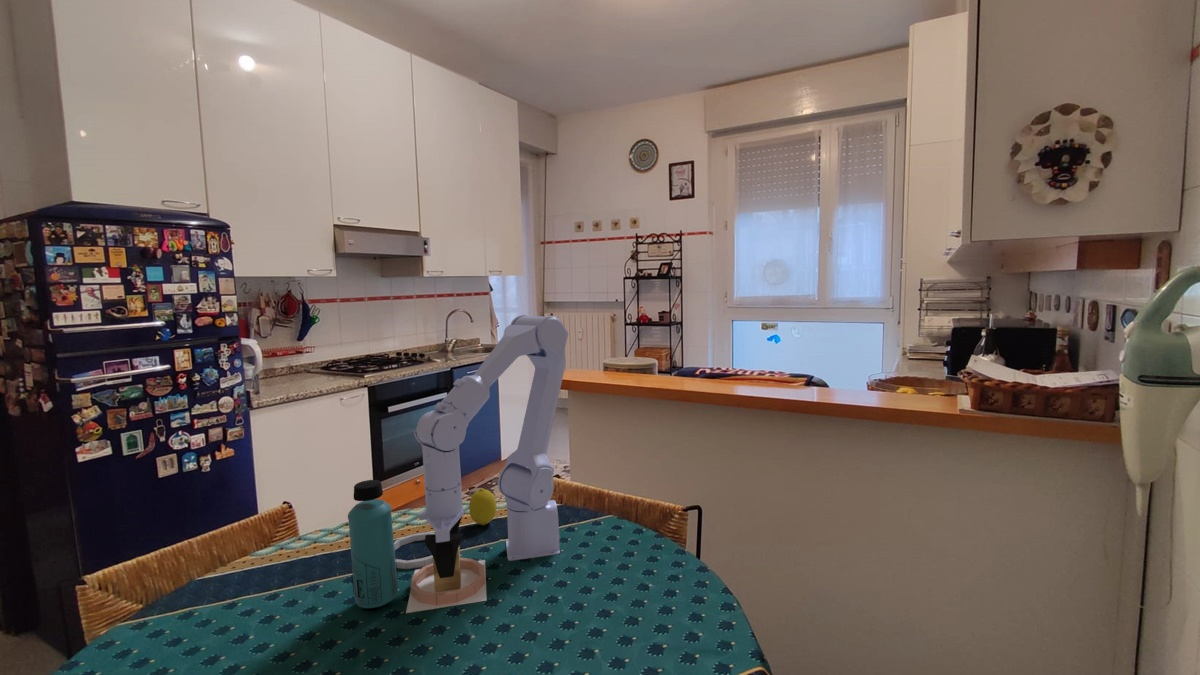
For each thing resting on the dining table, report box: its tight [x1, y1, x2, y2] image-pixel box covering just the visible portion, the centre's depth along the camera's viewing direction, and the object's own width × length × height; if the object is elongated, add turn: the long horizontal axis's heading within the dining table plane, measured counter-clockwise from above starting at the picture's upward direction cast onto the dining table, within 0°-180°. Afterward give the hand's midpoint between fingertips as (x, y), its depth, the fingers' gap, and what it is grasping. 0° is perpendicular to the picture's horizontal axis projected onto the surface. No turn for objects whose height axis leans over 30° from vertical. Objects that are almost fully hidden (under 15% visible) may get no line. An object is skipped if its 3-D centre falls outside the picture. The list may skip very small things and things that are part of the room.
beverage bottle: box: [347, 479, 399, 609], centre depth 83 cm, size 6×7×20 cm
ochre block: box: [433, 544, 461, 593], centre depth 89 cm, size 4×4×7 cm
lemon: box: [468, 488, 497, 526], centre depth 112 cm, size 6×6×8 cm
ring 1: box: [394, 531, 435, 570], centre depth 100 cm, size 12×12×2 cm
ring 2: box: [410, 557, 485, 605], centre depth 89 cm, size 12×12×2 cm
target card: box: [405, 559, 488, 614], centre depth 89 cm, size 12×13×1 cm
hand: (447, 564), depth 89 cm, fingers open, 7 cm apart
